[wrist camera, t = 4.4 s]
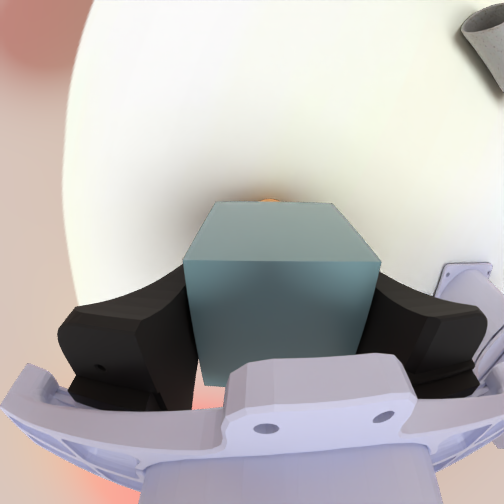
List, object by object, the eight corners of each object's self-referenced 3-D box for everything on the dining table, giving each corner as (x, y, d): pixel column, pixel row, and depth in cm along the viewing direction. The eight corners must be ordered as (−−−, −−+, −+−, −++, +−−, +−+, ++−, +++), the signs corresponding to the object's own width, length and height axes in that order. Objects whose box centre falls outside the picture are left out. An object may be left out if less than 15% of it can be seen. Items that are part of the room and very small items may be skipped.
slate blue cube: (320, 299, 15) (344, 384, 9) (221, 298, 15) (204, 385, 10) (332, 203, 12) (381, 261, 7) (215, 201, 13) (182, 260, 7)
